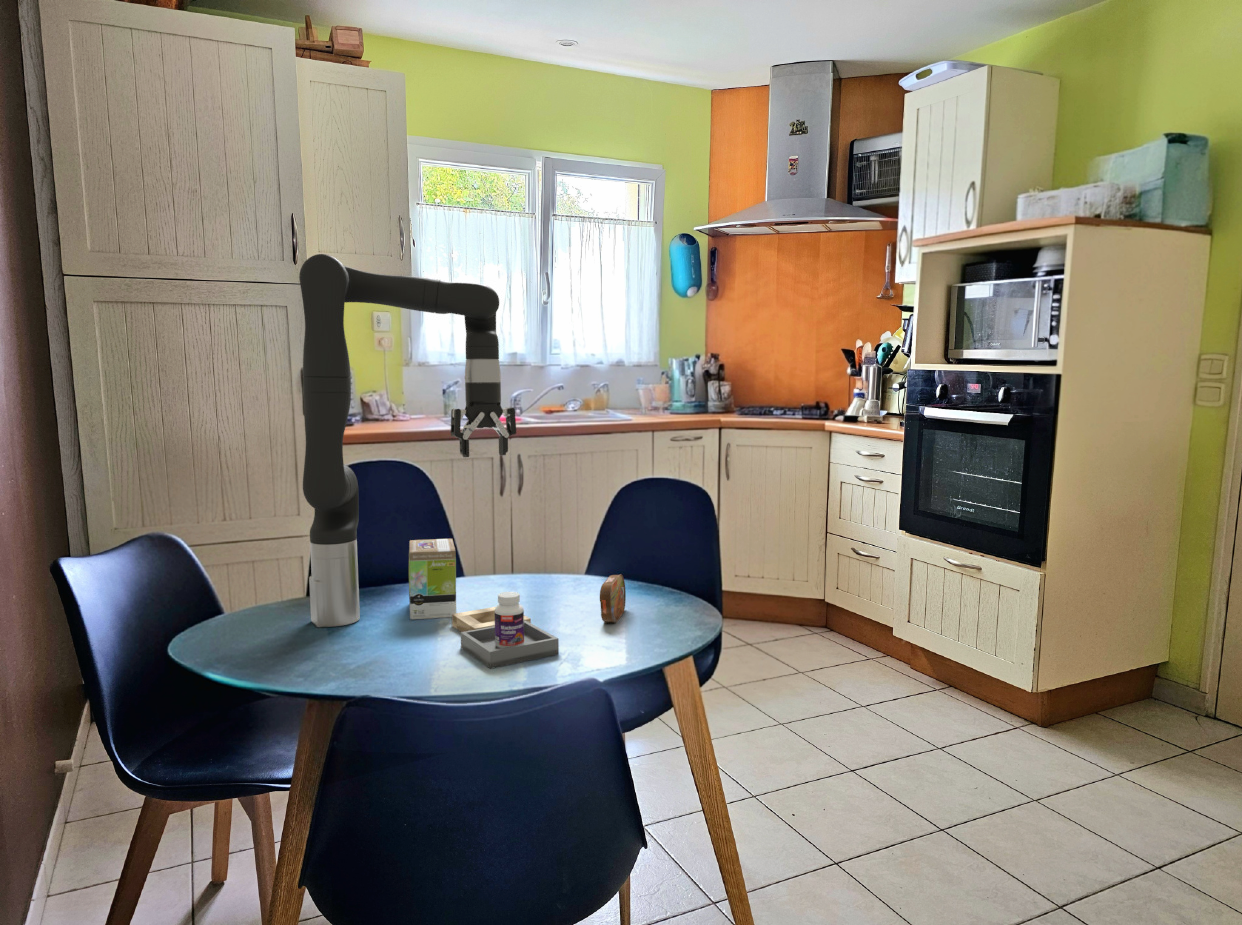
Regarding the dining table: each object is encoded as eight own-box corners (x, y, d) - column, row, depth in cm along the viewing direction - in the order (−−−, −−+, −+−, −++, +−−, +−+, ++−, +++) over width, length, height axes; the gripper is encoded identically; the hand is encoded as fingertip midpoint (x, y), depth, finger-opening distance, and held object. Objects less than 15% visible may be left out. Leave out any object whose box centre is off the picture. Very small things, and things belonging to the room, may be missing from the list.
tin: (612, 627, 167) (612, 587, 167) (597, 627, 168) (597, 586, 167) (627, 607, 182) (626, 570, 181) (613, 607, 183) (612, 570, 182)
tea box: (458, 617, 175) (456, 549, 174) (409, 621, 173) (407, 552, 172) (454, 599, 190) (452, 536, 189) (409, 602, 188) (407, 538, 186)
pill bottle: (500, 651, 150) (499, 599, 149) (491, 643, 155) (490, 592, 154) (528, 647, 152) (527, 596, 151) (519, 638, 157) (517, 589, 156)
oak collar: (475, 641, 159) (474, 628, 159) (452, 625, 169) (451, 613, 169) (530, 630, 166) (530, 618, 165) (505, 616, 176) (505, 605, 175)
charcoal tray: (490, 668, 144) (489, 651, 144) (460, 647, 155) (460, 632, 155) (558, 654, 151) (558, 638, 151) (525, 635, 163) (525, 620, 162)
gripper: (458, 381, 169) (459, 459, 171) (520, 380, 177) (521, 455, 178) (444, 381, 175) (446, 456, 177) (505, 380, 183) (507, 453, 185)
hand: (484, 456), depth 178 cm, fingers open, 8 cm apart
